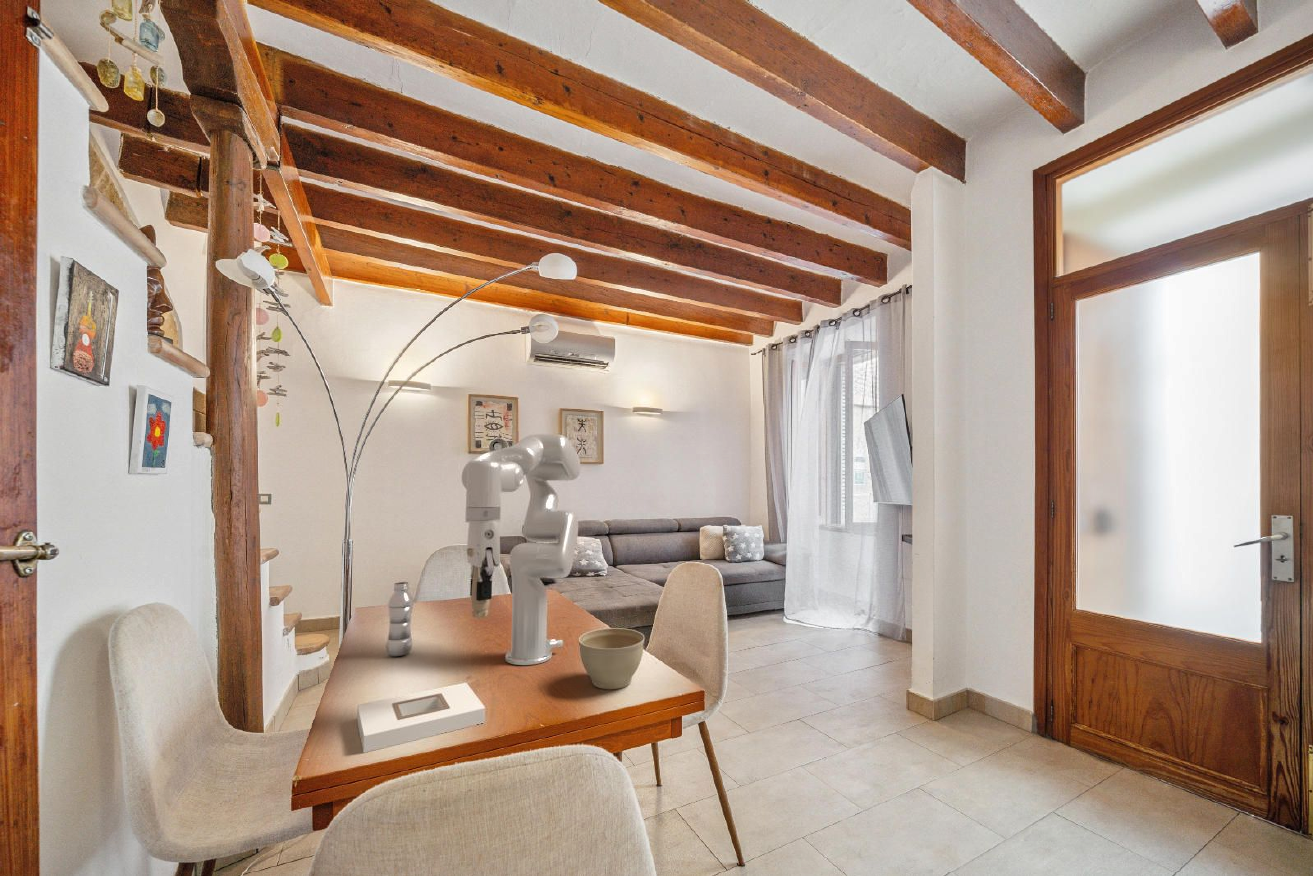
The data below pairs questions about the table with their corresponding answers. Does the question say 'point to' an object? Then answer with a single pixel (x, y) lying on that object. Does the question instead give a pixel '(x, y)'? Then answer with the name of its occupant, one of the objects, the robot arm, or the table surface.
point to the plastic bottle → (400, 621)
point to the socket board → (418, 716)
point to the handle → (477, 606)
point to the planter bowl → (611, 656)
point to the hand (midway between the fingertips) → (480, 597)
